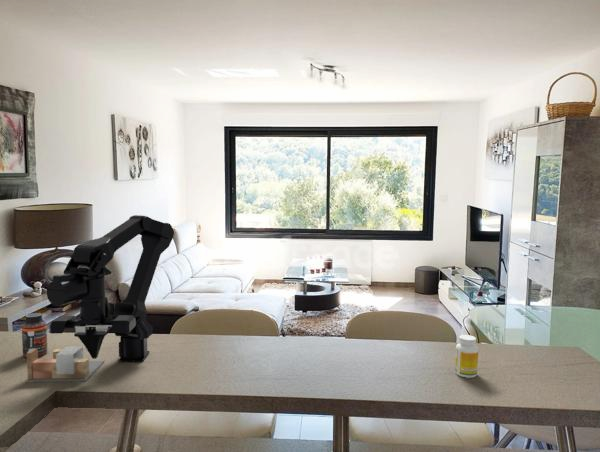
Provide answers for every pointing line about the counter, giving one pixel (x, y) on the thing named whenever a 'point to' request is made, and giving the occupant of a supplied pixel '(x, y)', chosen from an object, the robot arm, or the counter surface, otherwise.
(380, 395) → the counter surface
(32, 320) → the supplement bottle
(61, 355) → the rough concrete cube
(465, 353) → the supplement bottle
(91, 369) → the mat
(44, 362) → the block
